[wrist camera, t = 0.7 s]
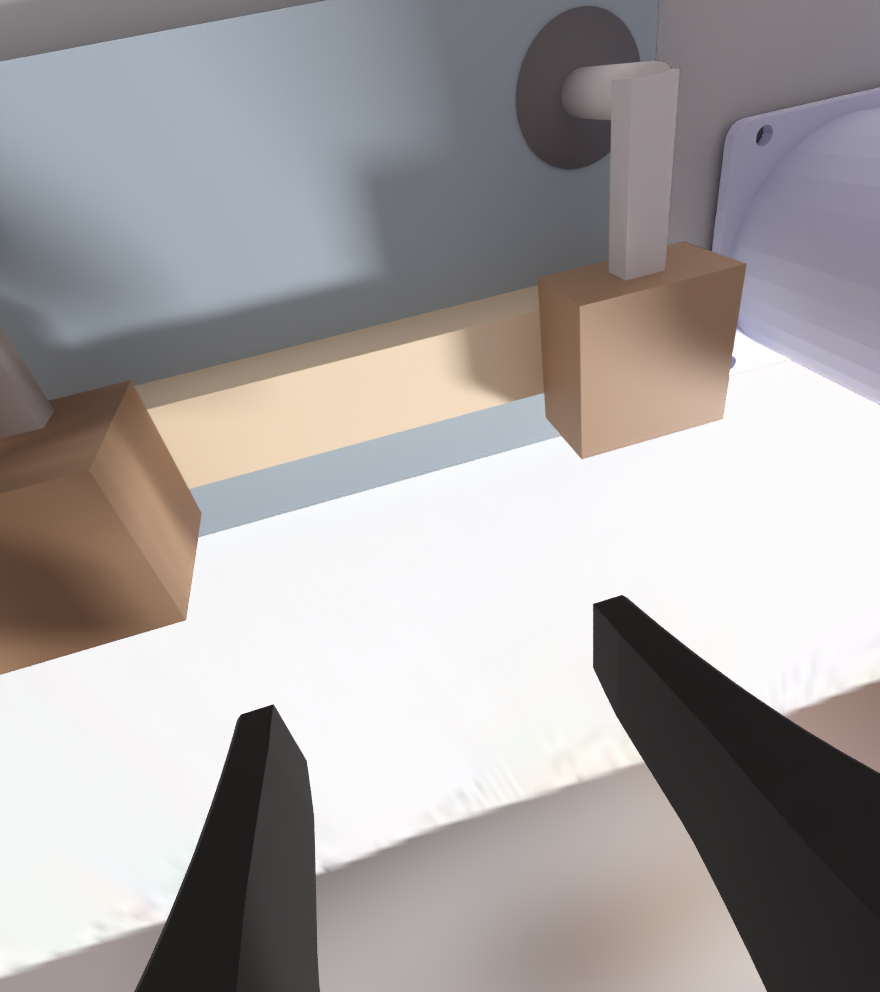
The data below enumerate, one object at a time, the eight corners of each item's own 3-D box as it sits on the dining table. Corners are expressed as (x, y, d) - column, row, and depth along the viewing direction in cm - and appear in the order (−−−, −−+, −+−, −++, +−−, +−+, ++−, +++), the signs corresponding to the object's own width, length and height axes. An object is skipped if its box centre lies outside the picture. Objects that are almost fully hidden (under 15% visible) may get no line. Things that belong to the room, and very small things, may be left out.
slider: (53, 178, 12) (-68, 226, 8) (206, 482, 17) (186, 619, 12) (-149, 220, 12) (-400, 298, 7) (67, 520, 16) (-6, 676, 12)
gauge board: (634, -52, 14) (806, -120, 9) (620, 399, 21) (713, 479, 16) (-516, 166, 11) (-1011, 211, 7) (-80, 592, 18) (-185, 746, 14)
